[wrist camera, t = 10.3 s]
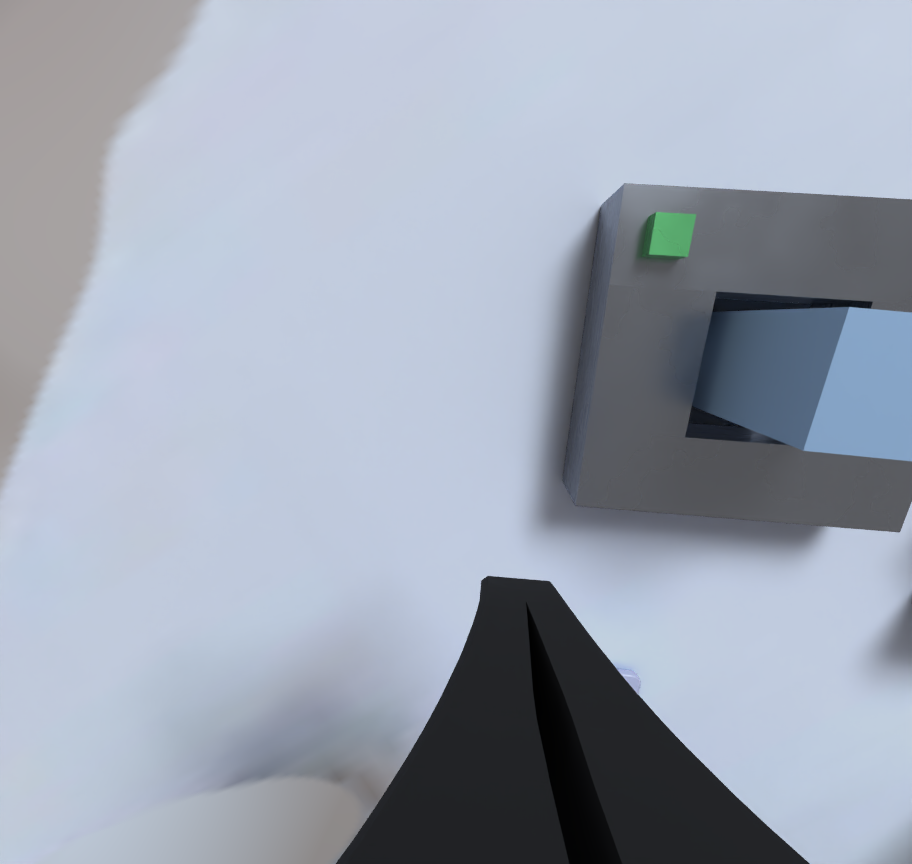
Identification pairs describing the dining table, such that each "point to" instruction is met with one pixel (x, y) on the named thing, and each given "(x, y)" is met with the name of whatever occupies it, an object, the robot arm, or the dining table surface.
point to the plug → (813, 378)
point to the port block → (683, 340)
